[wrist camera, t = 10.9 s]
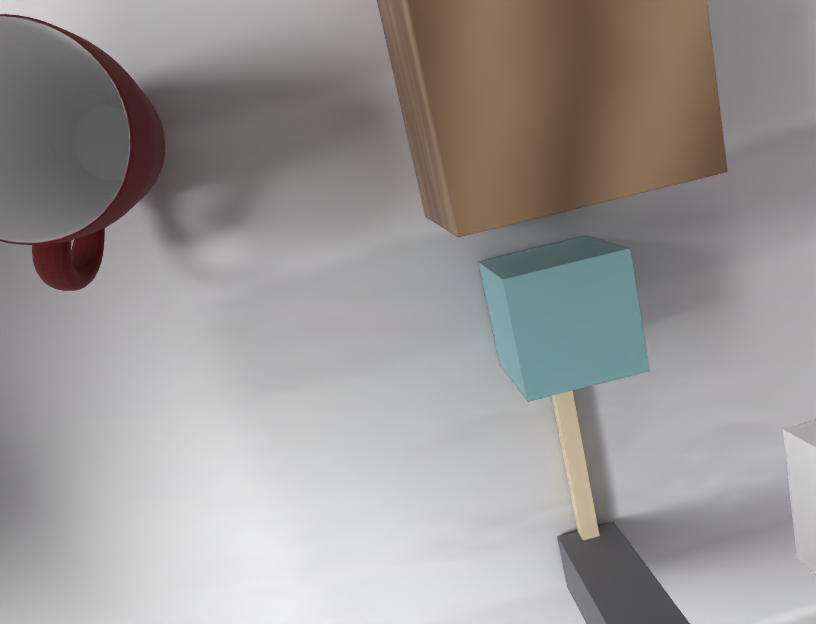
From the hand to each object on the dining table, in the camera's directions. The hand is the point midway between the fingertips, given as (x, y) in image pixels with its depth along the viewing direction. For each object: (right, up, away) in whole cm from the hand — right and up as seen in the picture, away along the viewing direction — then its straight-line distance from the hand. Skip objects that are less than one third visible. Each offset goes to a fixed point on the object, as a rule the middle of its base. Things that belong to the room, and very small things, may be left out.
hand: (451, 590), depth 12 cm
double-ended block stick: (+8, -2, +27) cm, 28 cm away
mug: (-16, +12, +22) cm, 30 cm away
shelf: (+4, +17, +23) cm, 29 cm away
